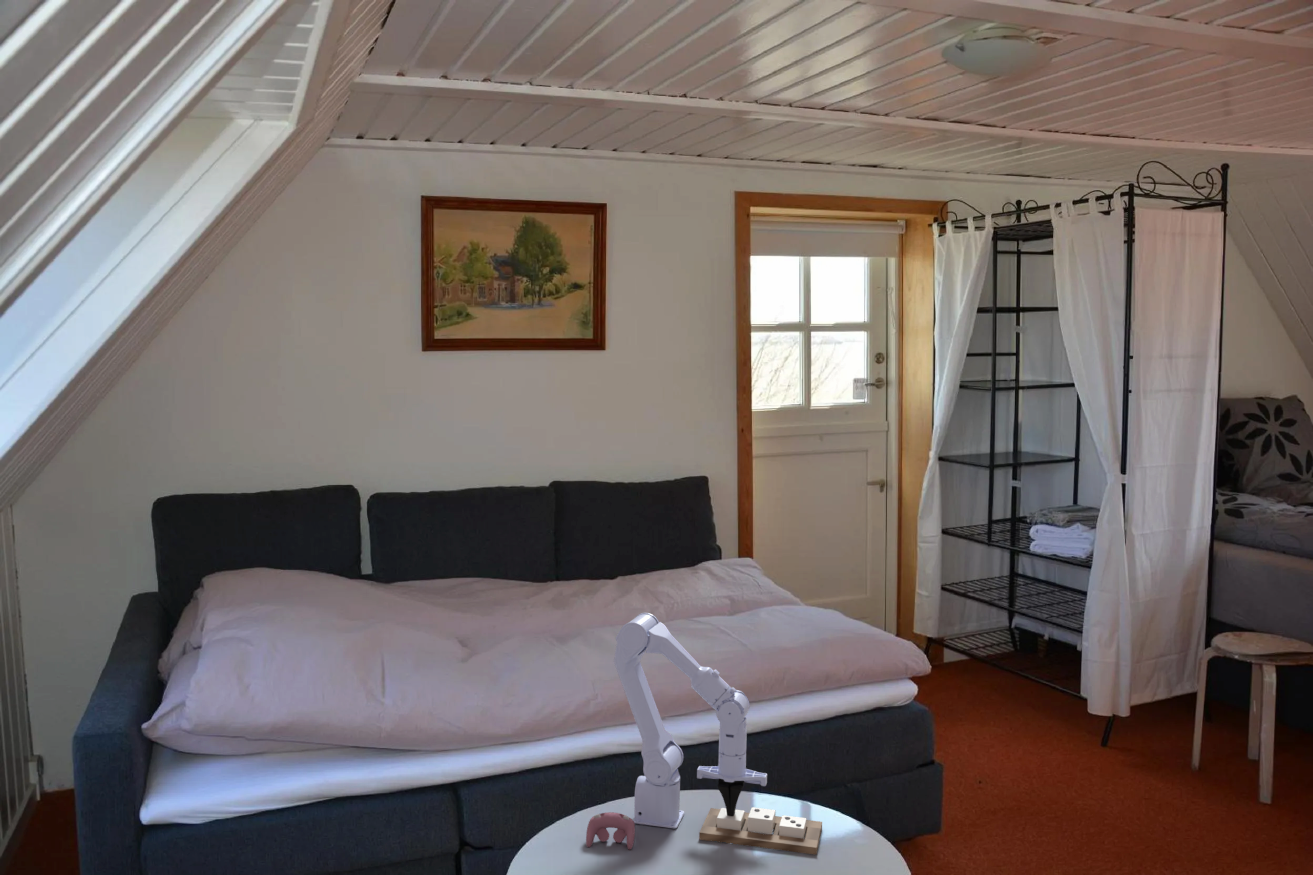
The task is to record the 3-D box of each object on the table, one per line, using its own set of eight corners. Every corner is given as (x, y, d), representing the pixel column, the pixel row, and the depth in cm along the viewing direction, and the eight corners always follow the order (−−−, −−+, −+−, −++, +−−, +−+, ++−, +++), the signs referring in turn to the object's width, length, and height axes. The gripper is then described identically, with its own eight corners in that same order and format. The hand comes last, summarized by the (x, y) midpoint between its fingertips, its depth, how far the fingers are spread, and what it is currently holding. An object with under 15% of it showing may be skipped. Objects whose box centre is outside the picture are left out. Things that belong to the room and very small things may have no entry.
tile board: (699, 839, 218) (699, 832, 218) (710, 814, 230) (710, 807, 230) (816, 854, 213) (816, 847, 212) (822, 828, 224) (822, 821, 224)
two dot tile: (747, 831, 219) (748, 816, 219) (751, 820, 224) (751, 806, 224) (771, 834, 218) (772, 819, 218) (775, 823, 223) (775, 809, 223)
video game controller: (634, 849, 217) (637, 813, 219) (632, 849, 213) (635, 812, 215) (587, 847, 218) (589, 811, 220) (584, 847, 213) (586, 810, 216)
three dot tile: (779, 839, 218) (779, 824, 218) (782, 828, 223) (782, 814, 222) (803, 842, 217) (803, 828, 216) (806, 831, 221) (806, 817, 221)
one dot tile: (716, 831, 221) (717, 817, 221) (721, 821, 226) (721, 807, 226) (740, 834, 220) (740, 820, 219) (744, 824, 225) (744, 810, 224)
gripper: (694, 754, 219) (693, 817, 220) (764, 762, 216) (762, 826, 217) (701, 742, 226) (700, 803, 227) (769, 749, 222) (767, 811, 224)
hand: (731, 813), depth 222 cm, fingers closed, pressing on one dot tile
